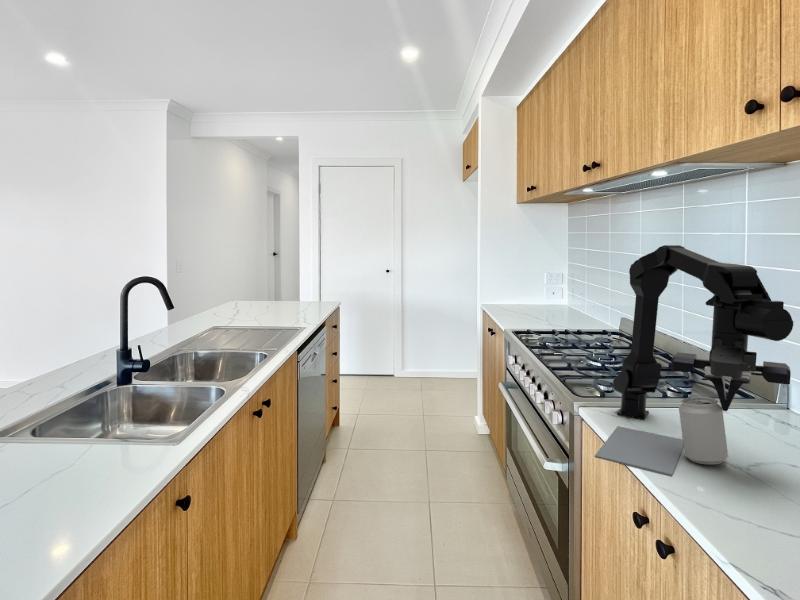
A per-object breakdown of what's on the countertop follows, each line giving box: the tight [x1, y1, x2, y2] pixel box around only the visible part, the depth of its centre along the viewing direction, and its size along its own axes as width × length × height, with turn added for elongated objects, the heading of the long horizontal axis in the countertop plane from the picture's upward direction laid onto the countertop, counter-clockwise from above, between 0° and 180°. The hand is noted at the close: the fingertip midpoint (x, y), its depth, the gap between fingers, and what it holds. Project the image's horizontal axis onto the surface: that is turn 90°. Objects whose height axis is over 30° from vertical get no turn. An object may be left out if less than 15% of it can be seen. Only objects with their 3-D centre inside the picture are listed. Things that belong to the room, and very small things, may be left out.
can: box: [678, 396, 729, 465], centre depth 97 cm, size 8×8×12 cm
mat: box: [594, 425, 684, 477], centre depth 103 cm, size 20×14×1 cm
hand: (725, 410), depth 94 cm, fingers closed
